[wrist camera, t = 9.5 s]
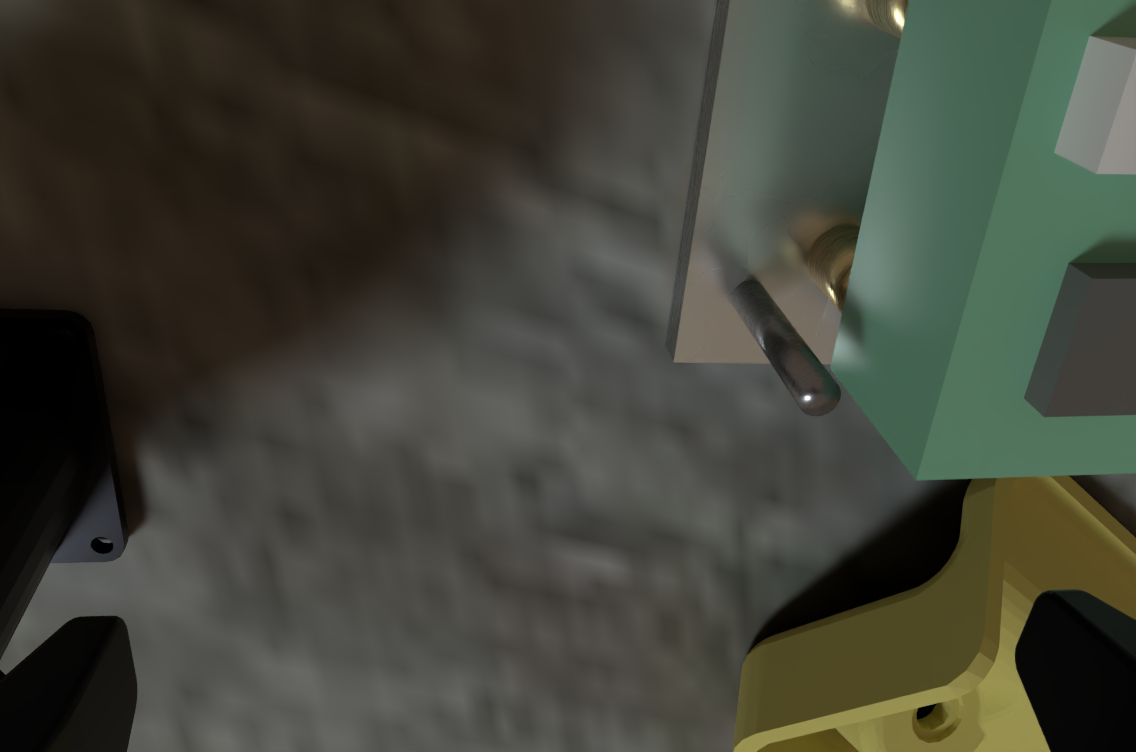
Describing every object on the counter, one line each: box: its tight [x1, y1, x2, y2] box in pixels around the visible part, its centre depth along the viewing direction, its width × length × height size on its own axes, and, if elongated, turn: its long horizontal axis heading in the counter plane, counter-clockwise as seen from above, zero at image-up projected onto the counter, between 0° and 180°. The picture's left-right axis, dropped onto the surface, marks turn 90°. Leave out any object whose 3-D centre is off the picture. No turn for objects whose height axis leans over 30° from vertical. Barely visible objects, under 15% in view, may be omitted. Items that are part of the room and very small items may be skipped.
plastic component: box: [733, 475, 1136, 752], centre depth 29 cm, size 20×7×10 cm
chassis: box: [666, 0, 909, 416], centre depth 19 cm, size 11×10×5 cm
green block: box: [830, 0, 1136, 480], centre depth 16 cm, size 8×5×5 cm, turn 177°
